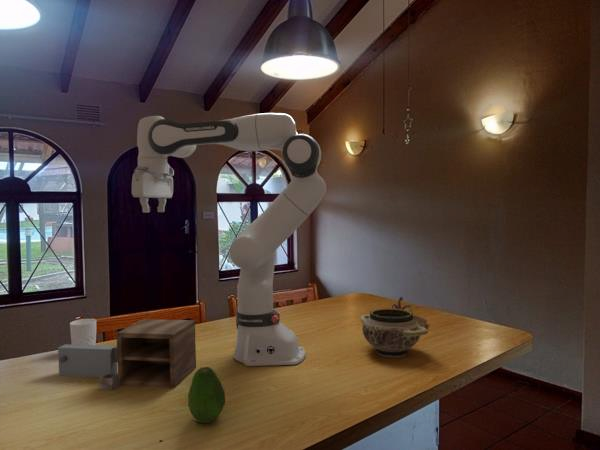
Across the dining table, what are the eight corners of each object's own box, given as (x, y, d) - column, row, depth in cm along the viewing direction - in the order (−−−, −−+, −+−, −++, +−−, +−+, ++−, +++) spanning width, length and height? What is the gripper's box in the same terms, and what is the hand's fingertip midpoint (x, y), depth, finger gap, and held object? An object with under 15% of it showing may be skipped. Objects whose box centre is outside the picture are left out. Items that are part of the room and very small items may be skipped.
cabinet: (196, 367, 126) (194, 320, 126) (169, 393, 109) (167, 338, 109) (135, 365, 129) (133, 318, 129) (99, 389, 112) (97, 336, 112)
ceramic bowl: (437, 368, 130) (444, 318, 132) (397, 366, 120) (406, 312, 122) (378, 347, 150) (385, 304, 152) (340, 344, 140) (348, 298, 142)
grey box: (56, 377, 122) (55, 349, 121) (66, 371, 126) (65, 344, 125) (120, 380, 119) (119, 351, 118) (128, 374, 123) (127, 346, 122)
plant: (433, 324, 170) (433, 295, 169) (417, 337, 153) (417, 305, 153) (385, 317, 181) (384, 291, 180) (365, 329, 164) (365, 300, 164)
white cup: (102, 348, 145) (101, 319, 145) (84, 356, 138) (82, 325, 138) (84, 346, 148) (83, 317, 148) (65, 354, 141) (63, 323, 140)
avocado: (181, 426, 92) (179, 371, 92) (202, 410, 100) (200, 359, 99) (213, 433, 89) (212, 376, 89) (232, 415, 97) (231, 362, 96)
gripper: (145, 165, 126) (146, 212, 126) (176, 170, 146) (177, 211, 147) (125, 165, 127) (126, 212, 127) (158, 171, 147) (159, 212, 148)
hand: (153, 212), depth 137 cm, fingers open, 8 cm apart
